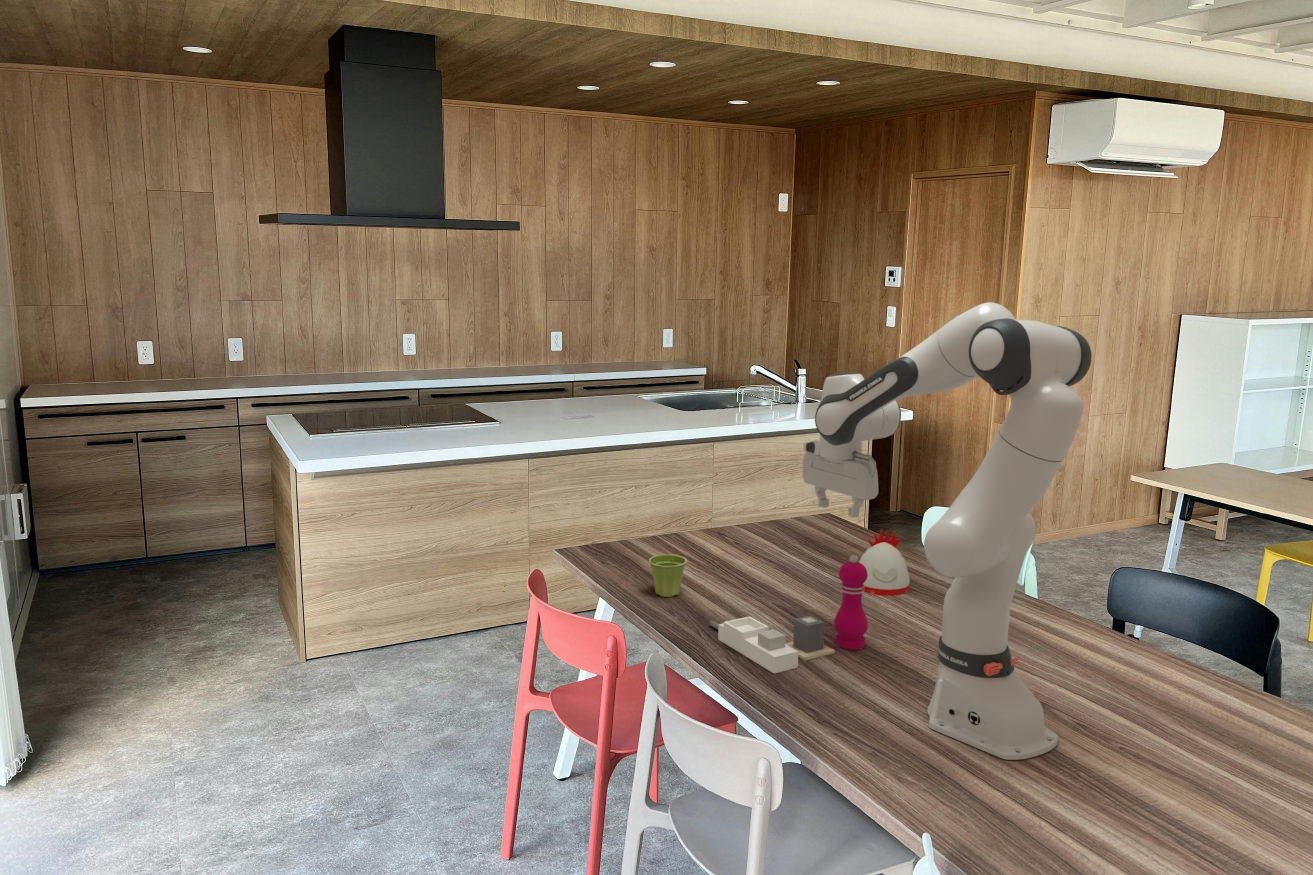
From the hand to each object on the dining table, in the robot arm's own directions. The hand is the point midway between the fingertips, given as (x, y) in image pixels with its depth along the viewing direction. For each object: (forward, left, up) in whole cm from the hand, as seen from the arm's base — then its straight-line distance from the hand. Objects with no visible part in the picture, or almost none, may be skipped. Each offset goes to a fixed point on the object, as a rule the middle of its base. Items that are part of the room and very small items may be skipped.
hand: (838, 511), depth 197 cm
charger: (-2, +9, -28) cm, 30 cm away
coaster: (-2, +9, -29) cm, 30 cm away
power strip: (+5, +20, -29) cm, 35 cm away
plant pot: (+43, +17, -29) cm, 54 cm away
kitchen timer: (+21, -34, -29) cm, 49 cm away
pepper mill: (-4, -1, -29) cm, 29 cm away
